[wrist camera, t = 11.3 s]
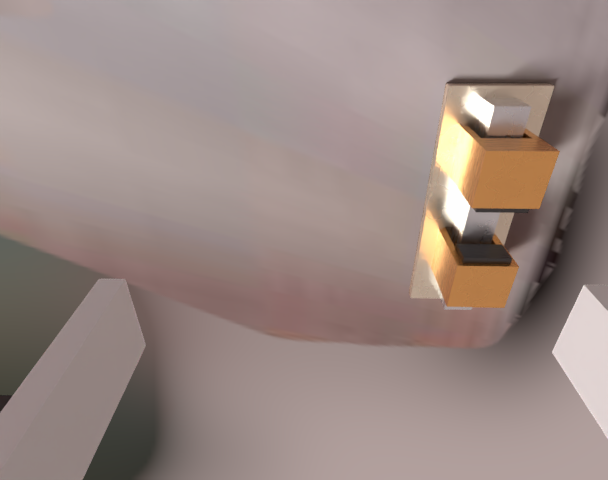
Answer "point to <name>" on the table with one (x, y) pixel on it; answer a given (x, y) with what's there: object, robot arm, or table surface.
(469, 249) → the orange cube
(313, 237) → the table surface
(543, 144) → the rail
